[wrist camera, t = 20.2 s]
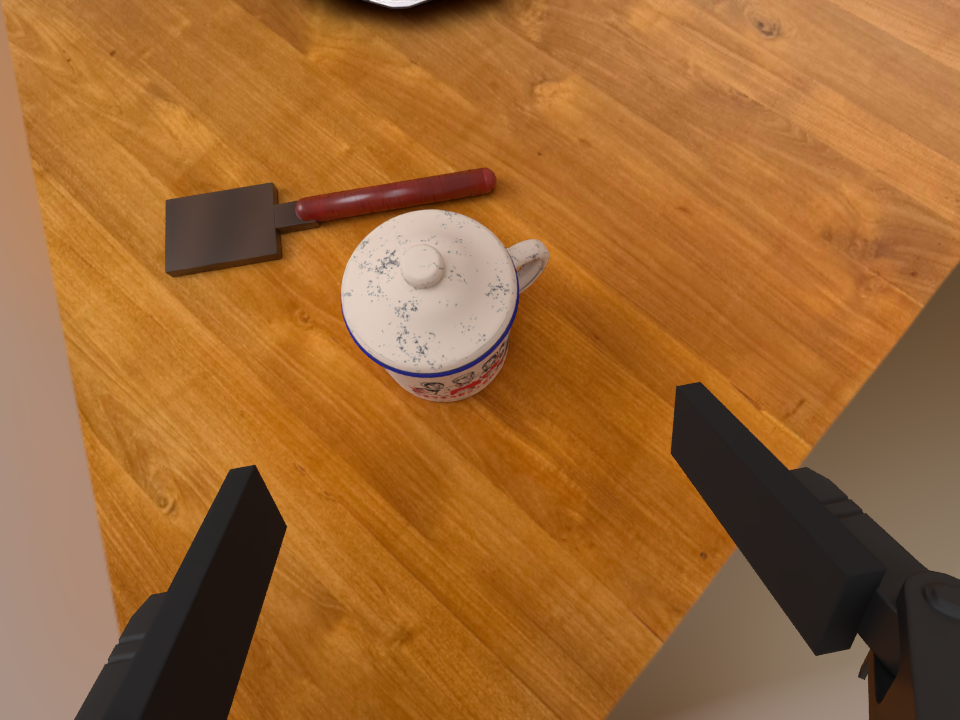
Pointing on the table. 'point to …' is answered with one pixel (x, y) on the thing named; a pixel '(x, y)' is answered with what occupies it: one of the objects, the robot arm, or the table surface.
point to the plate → (398, 3)
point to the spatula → (287, 217)
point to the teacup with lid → (437, 300)
